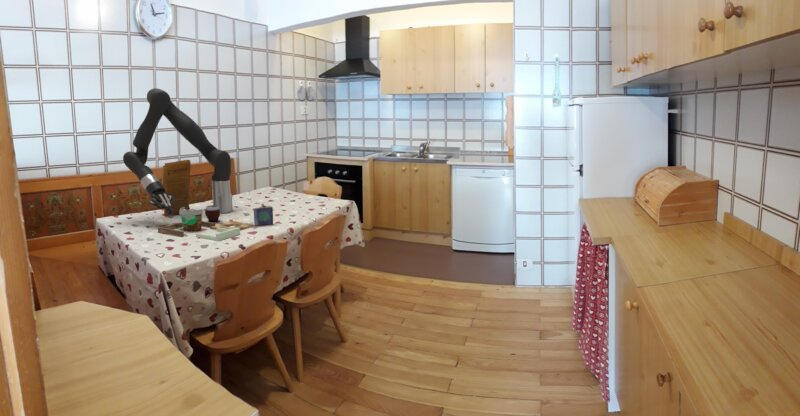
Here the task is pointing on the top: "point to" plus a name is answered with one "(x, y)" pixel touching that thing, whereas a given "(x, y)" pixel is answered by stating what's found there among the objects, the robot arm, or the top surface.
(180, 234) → the walnut stall
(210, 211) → the mate gourd
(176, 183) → the pancake mix bag
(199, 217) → the food container
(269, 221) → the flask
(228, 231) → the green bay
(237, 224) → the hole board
